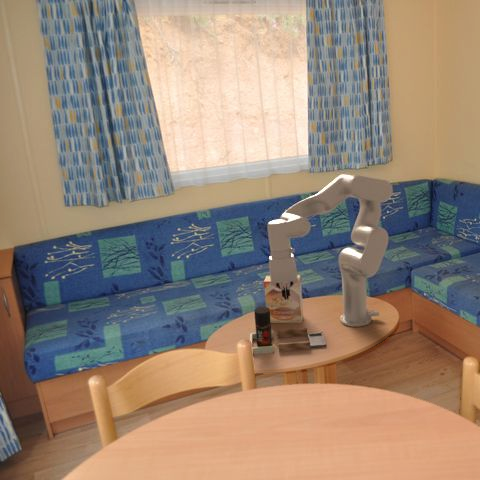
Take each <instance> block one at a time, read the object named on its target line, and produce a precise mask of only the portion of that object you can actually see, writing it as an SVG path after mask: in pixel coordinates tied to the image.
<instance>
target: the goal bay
mask: <svg viewBox="0 0 480 480" xmlns="http://www.w3.org/2000/svg"><path fill="white" fill-rule="evenodd" d="M273 334H274V333H273V330H271V335H272V339H273V338H274V335H273ZM249 335H250V336H249V342H250V341H251V343H252V346H253V347H252V348H253V353H254V354H253V355H261V354H272V353H273V354H274V353H275V350H274V345H272V346H264V347H258V346H254V344H253V342H254V340H257V337H256V332H249Z"/></svg>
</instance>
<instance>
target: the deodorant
mask: <svg viewBox="0 0 480 480" xmlns="http://www.w3.org/2000/svg"><path fill="white" fill-rule="evenodd" d="M253 311H254V313H253V314H254V323H255V333H256V337H257V339H256V347H264V346H273V340H272V339H273V338H272V335H271V331H272V323H271V322H270V309H269V308H267V307H266V306H259V307H256V308H255V309H254V310H253Z"/></svg>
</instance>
